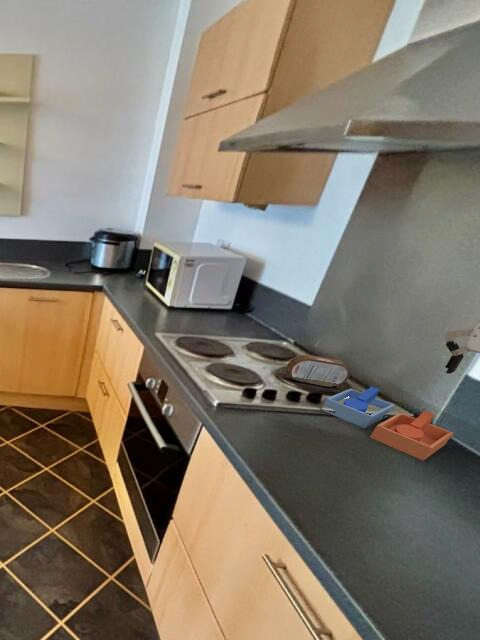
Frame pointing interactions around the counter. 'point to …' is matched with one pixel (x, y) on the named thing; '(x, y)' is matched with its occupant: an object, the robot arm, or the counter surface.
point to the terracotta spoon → (415, 426)
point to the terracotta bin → (421, 450)
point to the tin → (318, 369)
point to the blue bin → (356, 415)
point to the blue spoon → (362, 399)
